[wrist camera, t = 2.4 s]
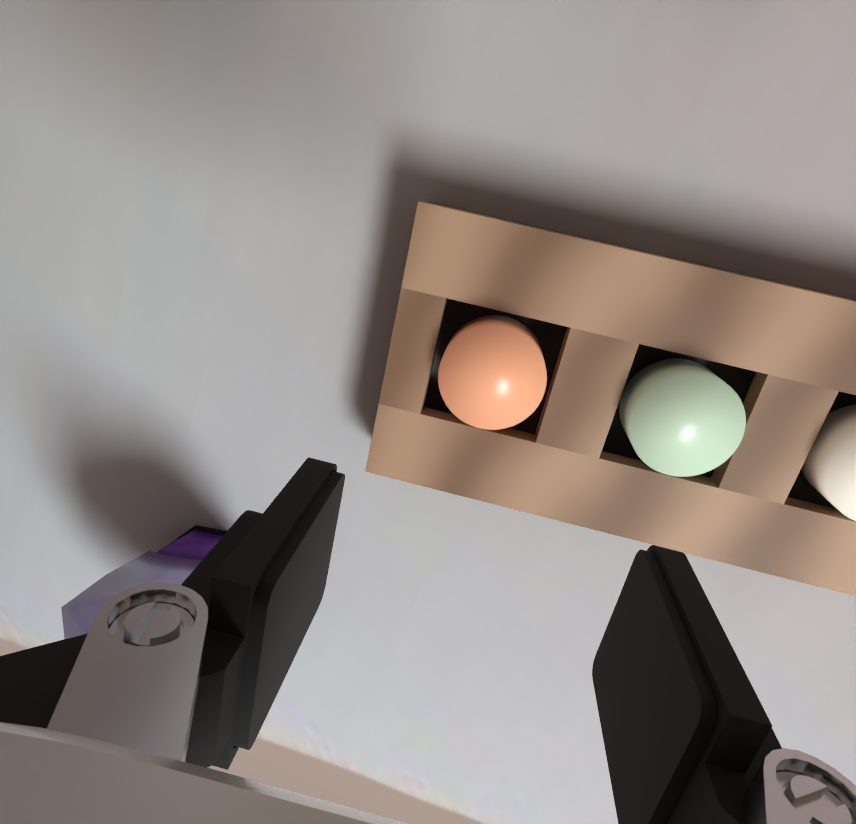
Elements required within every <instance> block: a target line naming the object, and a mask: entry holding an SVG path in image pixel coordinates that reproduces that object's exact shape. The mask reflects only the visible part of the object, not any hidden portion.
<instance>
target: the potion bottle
mask: <svg viewBox="0 0 856 824" xmlns="http://www.w3.org/2000/svg"><path fill="white" fill-rule="evenodd" d="M226 532H227V531H223V530H217V529H212V528H207V527H202V526H196V525H195V526H194V527H193V528H191V529H190V530H188V531H187V532H186V533H184V534H183V535H181V536H180V537H179V538H177V539H176V540H175V541H173V542H172V543H170V544H169V545H167V546H166V547H164V548H162V549H160V550H159V551H157V552H156V553H154V552H151V551H148V552H147V553H145V554H143V555H141V556H139V557H138V558H136V559H134V560H132V561H130V562H128V563H127V564H125V565H123V566H121V567H119V568H118V569H116V570H114V571H112V572H110V573H109V574H107V575H105V576H104V577H103V578H101V579H100V580H98V581H97V582H96V583H94V584H93V585H92V586H90V587H89V588H87V589H86V590H85V591H83V592H82V593H81V594H79V595H78V596H77V597H75V598H74V599H72V600H71V601H70V602H68V603H67V604H66V605H64V606H63V607H62V617H63V627H64V637H65V639H68V638H72V637H76V636H80V635H84V634H87V633H88V632H89V630H90V627H91V625H92V623H93V620H94V618H95V616H96V614H97V613H98V611H99V610H100V608H101V607H102V605H103V604H104V603H105V602H106V601H108V600H109V599H110V598H112V597H113V596H114V595H115V594H118V593H120V592H122V591H124V590H126V589H128V588H130V587H134V586H139V585H143V584H147V583H163V582H164V583H172V584H179V585H181V584H182V583H183V582H184V581H185V579H186V578H187V577H188V576H189V575H190V574H191V573H192V571H193V570H194V569H195V568H196V567H197V566H198V564H199V563H200V562H201V561H202V560H203V559H204V558H205V556H206V555H207V554H208V553H209V552H210V551H211V549H212V548H213V547H214V546H215V545H216V544H217V543H218V541H219V540H220V539H221V538H222V537H223V536H224V535H225V533H226Z"/></svg>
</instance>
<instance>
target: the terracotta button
mask: <svg viewBox="0 0 856 824" xmlns="http://www.w3.org/2000/svg"><path fill="white" fill-rule="evenodd" d="M546 383H547V371H546V366H545V362H544V357H543V353H542V349H541V347H540V344H539V342H538V340H537V338H536V337H535V335H534V334H533V333H532V332H531V331H530V330H529V329H528V328H527V327H526V326H525V325H524V324H522V323H520V322H519V321H517V320H515V319H513V318H510V317H506V316H501V315H487V316H482V317H478V318H476V319H473V320H471V321H469V322H467V323H466V324H464V325H463V326H462V327H461V328H459V329H458V330H457V331H456V333H455V334H454V335H453V336H452V338H451V340H450V341H449V343H448V346H447V348H446V350H445V352H444V355H443V357H442V359H441V362H440V366H439V371H438V384H439V389H440V393H441V396H442V398H443V400H444V402H445V404H446V406H447V407H448V408H449V410H450V411H451V412H452V413H453V414H454V415H455V416H456V417H458V418H459V419H460V420H462V421H463V422H465V423H467V424H469V425H471V426H474V427H477V428H481V429H487V430H498V429H504V428H508V427H511V426H514V425H516V424H518V423H520V422H522V421H523V420H525V419H526V418H527V417H529V416H530V415H531V414H532V413H533V412H534V411H535V410H536V408H537V407H538V405H539V404H540V402H541V400H542V398H543V396H544V393H545V389H546Z"/></svg>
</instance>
